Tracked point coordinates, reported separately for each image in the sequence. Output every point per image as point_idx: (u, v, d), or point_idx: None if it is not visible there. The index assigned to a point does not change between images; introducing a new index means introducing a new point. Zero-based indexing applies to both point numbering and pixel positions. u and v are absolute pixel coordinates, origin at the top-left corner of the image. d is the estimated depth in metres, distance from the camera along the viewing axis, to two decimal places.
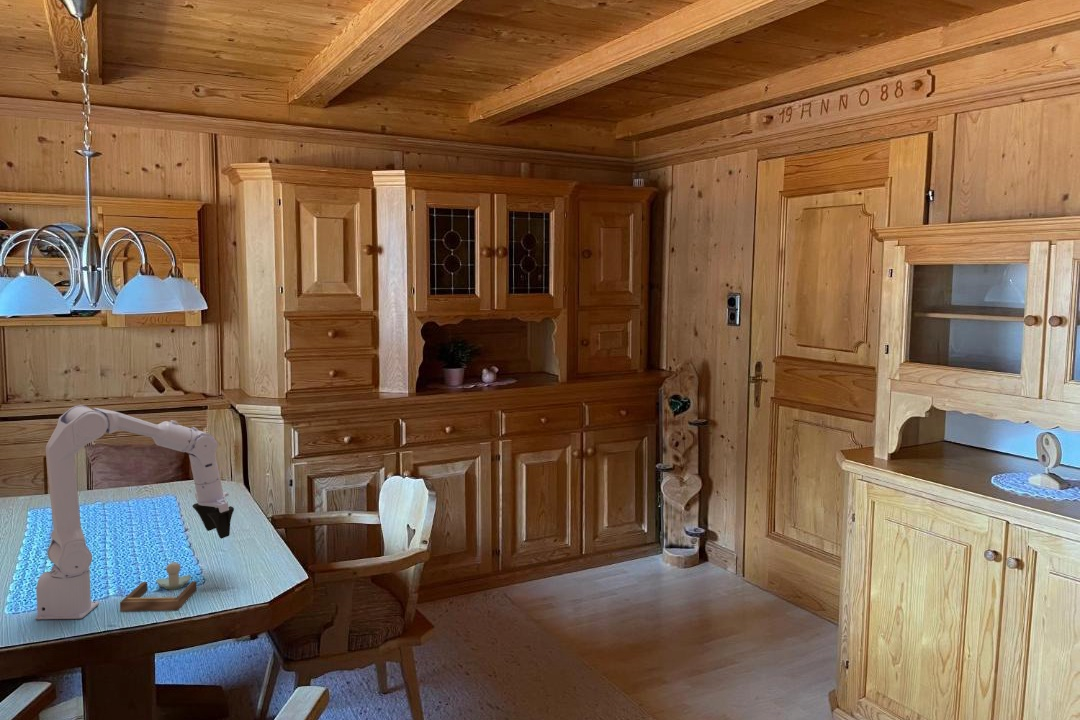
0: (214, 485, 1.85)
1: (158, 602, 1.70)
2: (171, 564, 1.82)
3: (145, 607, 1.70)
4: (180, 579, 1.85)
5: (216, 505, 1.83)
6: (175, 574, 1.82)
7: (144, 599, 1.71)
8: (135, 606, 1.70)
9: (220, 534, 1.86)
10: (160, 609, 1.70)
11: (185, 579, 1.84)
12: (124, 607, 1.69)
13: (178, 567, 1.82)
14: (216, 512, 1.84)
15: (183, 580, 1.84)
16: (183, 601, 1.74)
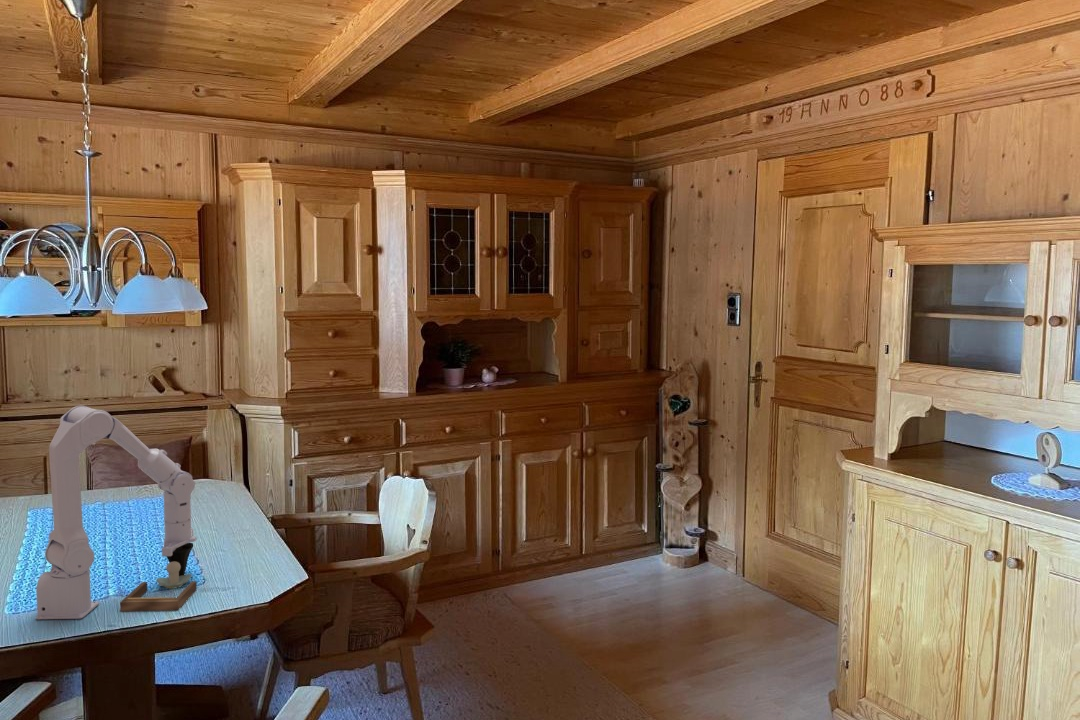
0: (175, 527, 1.83)
1: (158, 602, 1.70)
2: (171, 563, 1.82)
3: (145, 607, 1.70)
4: (180, 578, 1.85)
5: (163, 547, 1.80)
6: (175, 573, 1.83)
7: (144, 599, 1.71)
8: (135, 606, 1.70)
9: None
10: (160, 609, 1.70)
11: (185, 578, 1.85)
12: (124, 607, 1.69)
13: (178, 566, 1.83)
14: None
15: (183, 579, 1.85)
16: (183, 601, 1.74)
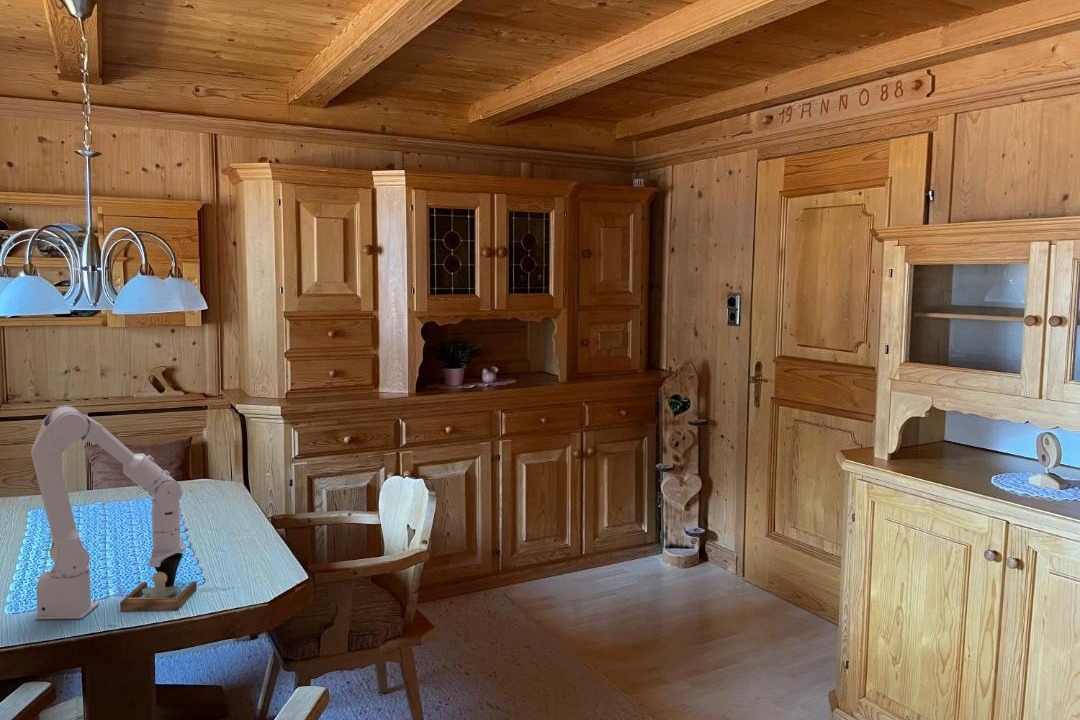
0: (163, 536, 1.76)
1: (158, 602, 1.70)
2: (157, 574, 1.75)
3: (145, 607, 1.70)
4: (168, 589, 1.78)
5: (151, 557, 1.74)
6: (161, 584, 1.76)
7: (144, 599, 1.71)
8: (135, 606, 1.70)
9: None
10: (160, 609, 1.70)
11: (172, 590, 1.78)
12: (124, 607, 1.69)
13: (164, 577, 1.76)
14: None
15: (170, 591, 1.78)
16: (183, 601, 1.74)
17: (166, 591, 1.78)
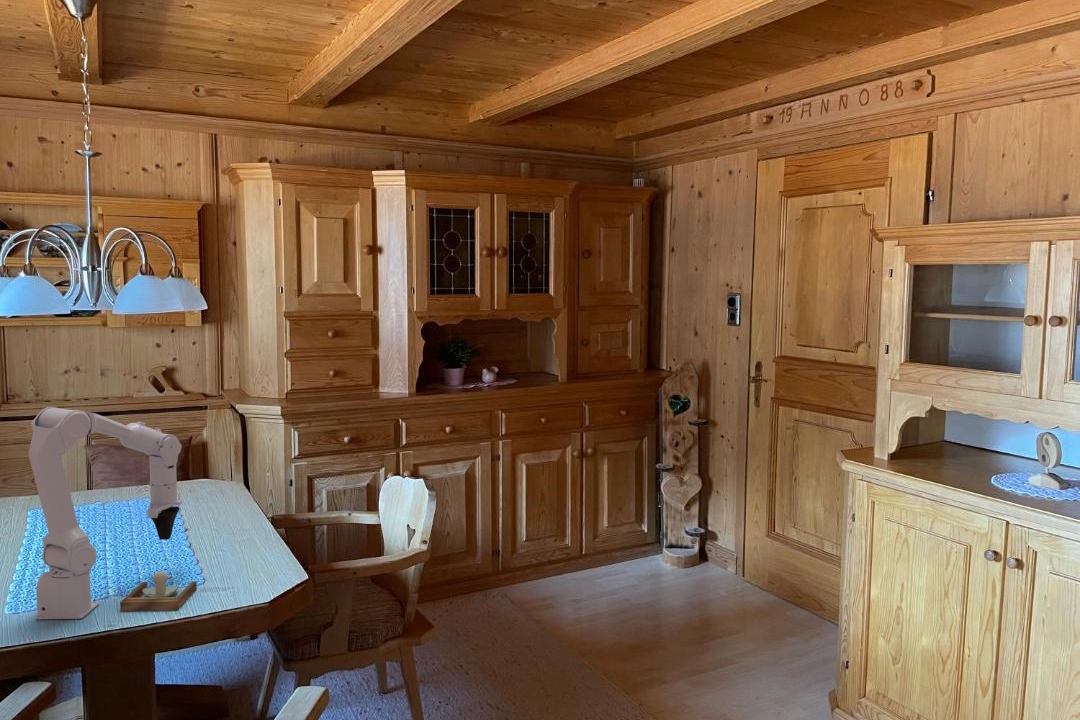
0: (160, 489, 1.85)
1: (158, 602, 1.70)
2: (157, 573, 1.76)
3: (145, 607, 1.70)
4: (169, 589, 1.79)
5: (148, 509, 1.82)
6: (161, 584, 1.76)
7: (144, 599, 1.71)
8: (135, 606, 1.70)
9: (159, 535, 1.88)
10: (160, 609, 1.70)
11: (173, 589, 1.78)
12: (124, 607, 1.69)
13: (164, 577, 1.76)
14: None
15: (171, 590, 1.78)
16: (183, 601, 1.74)
17: (167, 591, 1.78)
